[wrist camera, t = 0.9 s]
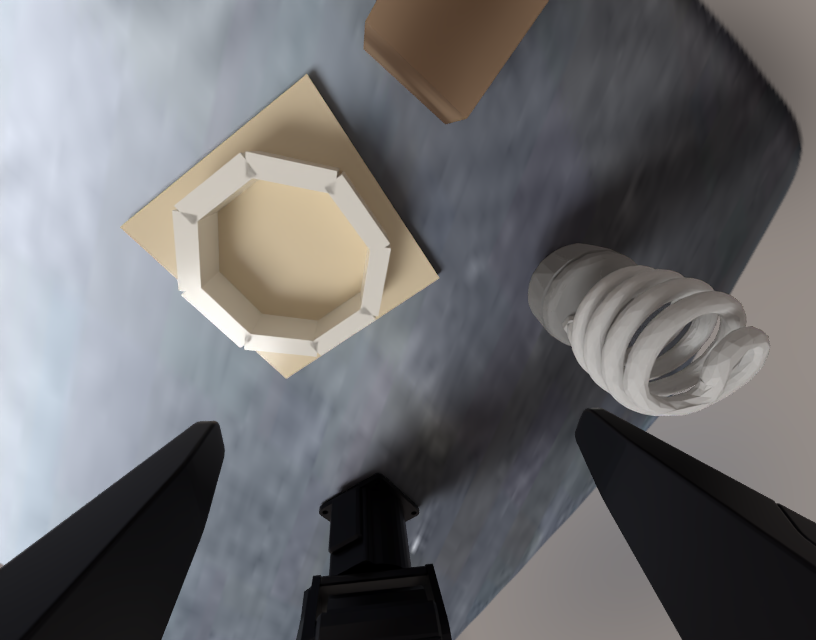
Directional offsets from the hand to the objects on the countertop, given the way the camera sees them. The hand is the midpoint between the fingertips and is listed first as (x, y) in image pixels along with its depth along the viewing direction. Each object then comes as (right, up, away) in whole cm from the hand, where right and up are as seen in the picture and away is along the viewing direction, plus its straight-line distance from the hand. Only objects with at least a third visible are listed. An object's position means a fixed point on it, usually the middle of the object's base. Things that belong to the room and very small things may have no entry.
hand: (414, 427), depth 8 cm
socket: (-7, +7, +11) cm, 14 cm away
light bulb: (+9, +6, +14) cm, 17 cm away
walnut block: (+1, +16, +8) cm, 18 cm away
